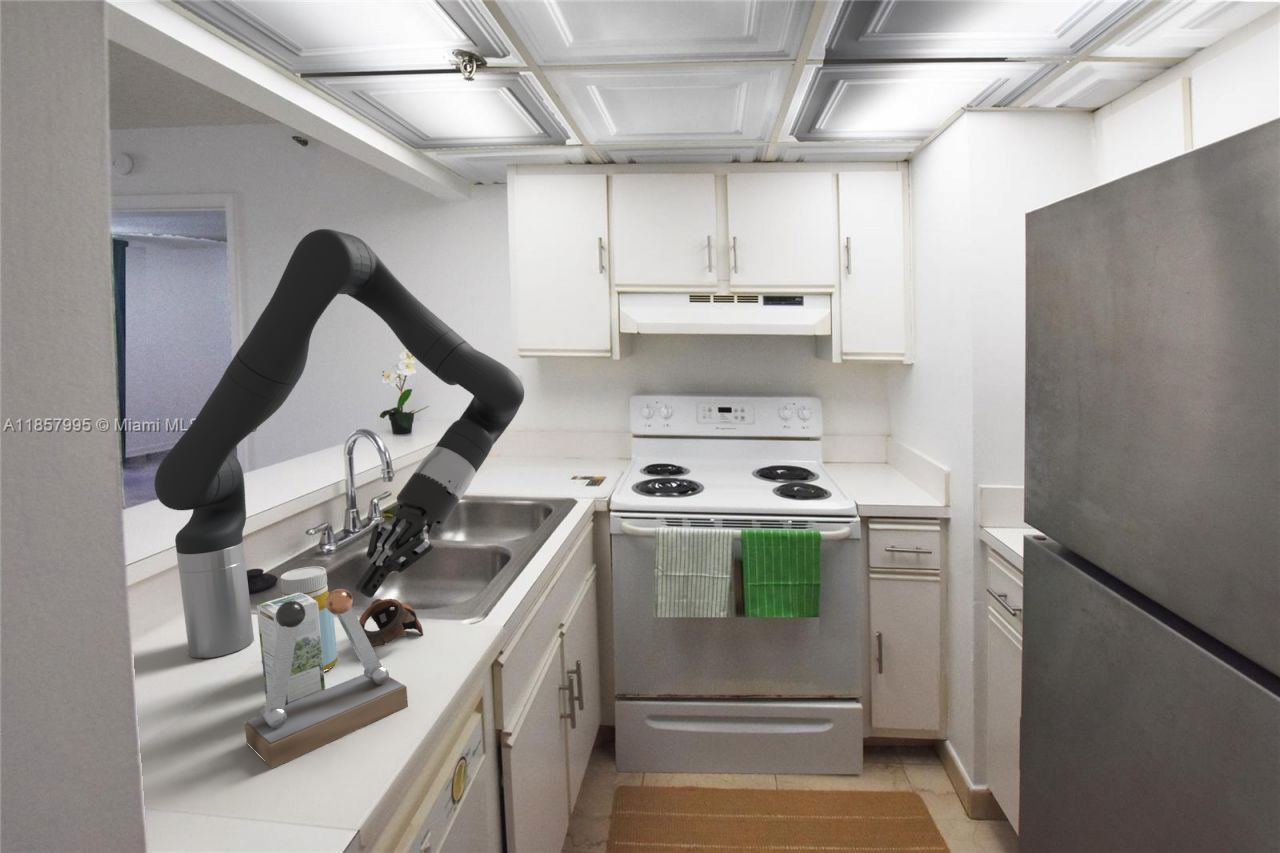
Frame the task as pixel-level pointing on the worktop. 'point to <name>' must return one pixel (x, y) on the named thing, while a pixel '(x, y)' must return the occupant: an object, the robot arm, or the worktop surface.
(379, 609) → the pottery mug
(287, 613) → the lever black
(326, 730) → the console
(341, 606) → the lever terracotta
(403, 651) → the worktop surface
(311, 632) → the syrup box
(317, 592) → the bottle
